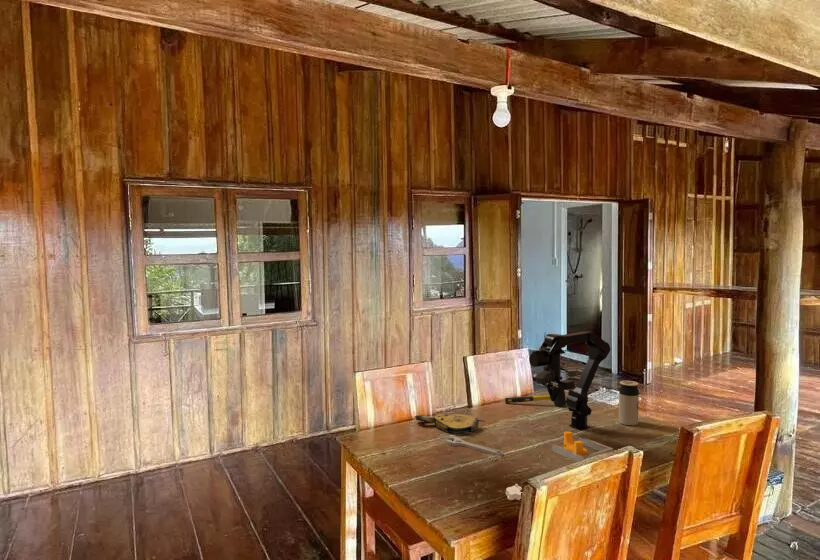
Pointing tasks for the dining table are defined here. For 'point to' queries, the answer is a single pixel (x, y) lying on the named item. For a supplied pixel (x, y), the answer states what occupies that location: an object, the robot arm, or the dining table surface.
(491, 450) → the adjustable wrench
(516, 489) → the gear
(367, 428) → the dining table surface
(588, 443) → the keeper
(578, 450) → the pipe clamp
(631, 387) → the travel mug
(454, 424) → the pulley block
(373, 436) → the dining table surface
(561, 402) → the mallet
